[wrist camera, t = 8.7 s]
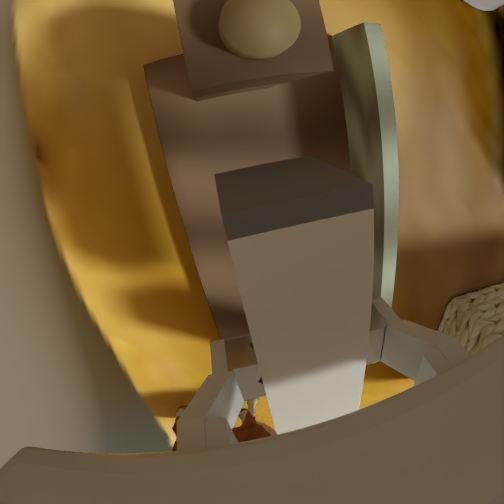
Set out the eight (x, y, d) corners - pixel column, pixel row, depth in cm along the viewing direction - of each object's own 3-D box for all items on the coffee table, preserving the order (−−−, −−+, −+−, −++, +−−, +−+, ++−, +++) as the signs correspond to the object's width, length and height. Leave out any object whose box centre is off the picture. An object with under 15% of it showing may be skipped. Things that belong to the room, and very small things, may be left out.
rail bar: (214, 174, 10) (221, 215, 6) (309, 155, 10) (372, 184, 6) (266, 391, 16) (283, 458, 12) (326, 374, 16) (353, 437, 12)
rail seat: (146, 67, 14) (75, 19, 5) (338, 39, 15) (460, 2, 5) (229, 356, 25) (247, 469, 16) (357, 320, 26) (416, 413, 16)
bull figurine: (289, 409, 31) (307, 468, 24) (173, 423, 29) (174, 485, 22) (291, 387, 29) (313, 453, 22) (163, 403, 27) (162, 471, 20)
